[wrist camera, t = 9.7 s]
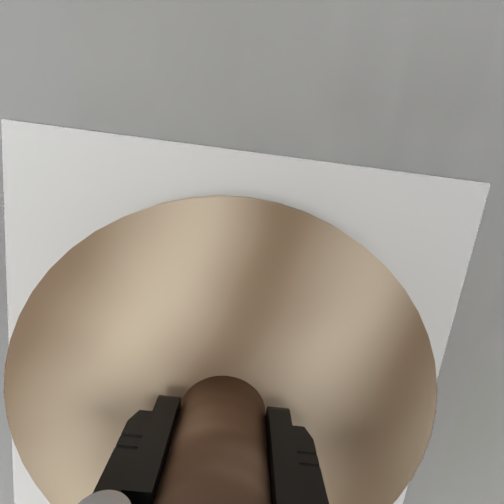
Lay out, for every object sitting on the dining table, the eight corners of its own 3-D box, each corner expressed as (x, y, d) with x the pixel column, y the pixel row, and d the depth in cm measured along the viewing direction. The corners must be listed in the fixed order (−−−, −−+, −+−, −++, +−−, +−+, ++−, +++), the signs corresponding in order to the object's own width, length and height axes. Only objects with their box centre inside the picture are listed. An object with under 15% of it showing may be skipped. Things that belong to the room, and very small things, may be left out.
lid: (469, 225, 12) (687, 277, 6) (377, 564, 15) (459, 813, 9) (17, 167, 11) (-235, 163, 5) (26, 534, 15) (-124, 779, 9)
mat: (484, 183, 13) (490, 183, 13) (385, 546, 17) (389, 554, 17) (9, 120, 13) (1, 118, 12) (20, 514, 17) (14, 522, 16)
